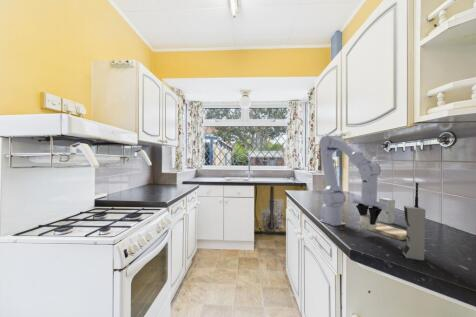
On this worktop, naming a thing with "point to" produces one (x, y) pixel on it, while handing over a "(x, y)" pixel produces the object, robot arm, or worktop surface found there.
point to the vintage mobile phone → (415, 230)
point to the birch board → (390, 231)
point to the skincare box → (387, 211)
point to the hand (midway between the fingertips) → (368, 223)
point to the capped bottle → (366, 222)
